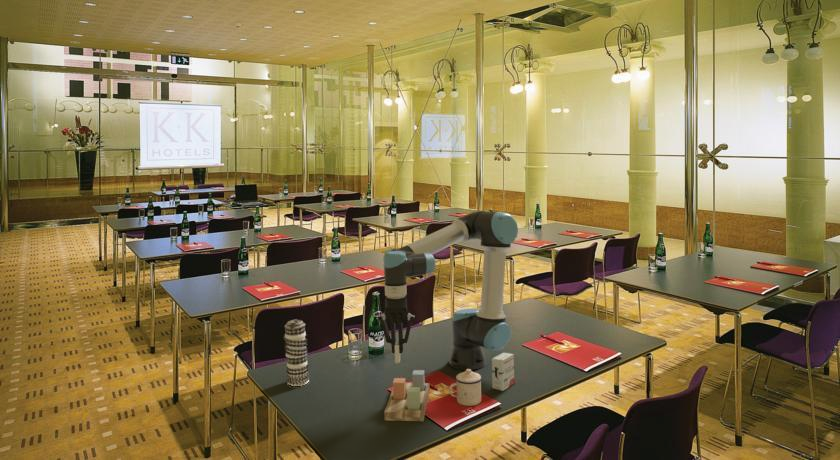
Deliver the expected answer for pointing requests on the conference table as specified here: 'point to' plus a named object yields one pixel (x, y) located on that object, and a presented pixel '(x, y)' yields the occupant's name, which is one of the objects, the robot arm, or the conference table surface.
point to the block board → (406, 407)
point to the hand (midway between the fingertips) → (397, 361)
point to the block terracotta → (399, 388)
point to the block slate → (419, 379)
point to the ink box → (502, 371)
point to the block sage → (413, 398)
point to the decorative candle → (296, 353)
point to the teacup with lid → (467, 388)
